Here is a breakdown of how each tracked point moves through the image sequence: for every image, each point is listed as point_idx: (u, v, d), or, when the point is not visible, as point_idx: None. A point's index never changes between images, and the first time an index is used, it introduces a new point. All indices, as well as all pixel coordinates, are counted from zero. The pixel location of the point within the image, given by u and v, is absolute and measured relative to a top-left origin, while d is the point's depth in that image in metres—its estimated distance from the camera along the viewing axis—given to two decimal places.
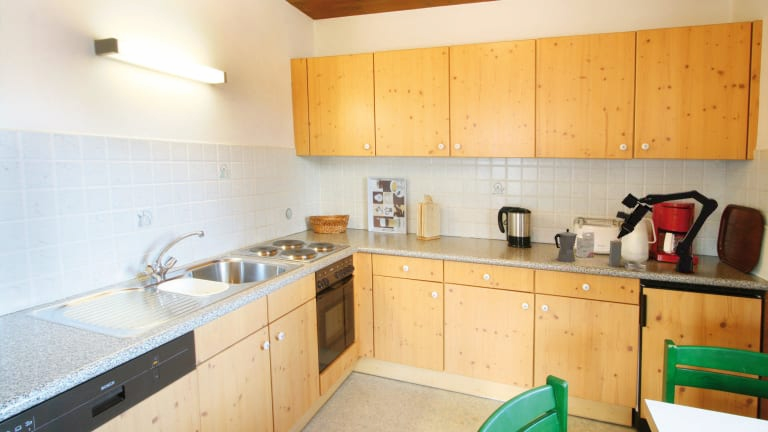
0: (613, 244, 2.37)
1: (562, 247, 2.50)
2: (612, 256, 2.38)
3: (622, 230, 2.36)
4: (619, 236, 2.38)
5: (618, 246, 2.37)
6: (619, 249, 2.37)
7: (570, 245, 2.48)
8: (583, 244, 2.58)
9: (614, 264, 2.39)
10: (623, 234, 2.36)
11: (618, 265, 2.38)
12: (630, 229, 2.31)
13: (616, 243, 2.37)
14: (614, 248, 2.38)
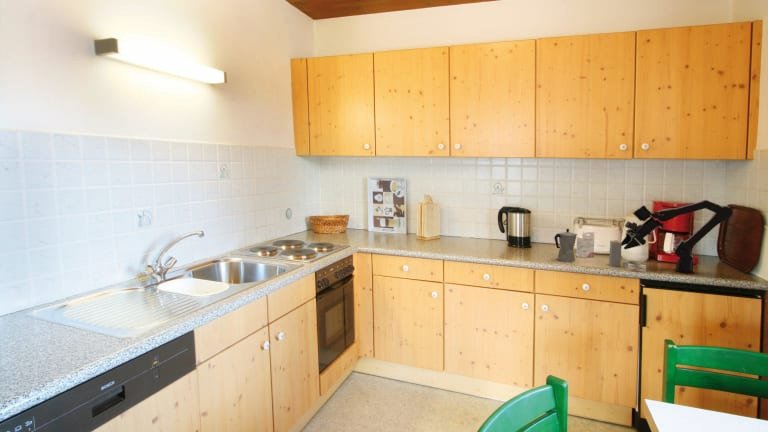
0: (613, 244, 2.37)
1: (562, 247, 2.50)
2: (612, 256, 2.38)
3: (632, 241, 2.32)
4: (627, 247, 2.33)
5: (618, 246, 2.37)
6: (619, 249, 2.37)
7: (570, 245, 2.48)
8: (583, 244, 2.58)
9: (614, 264, 2.39)
10: (631, 245, 2.32)
11: (618, 265, 2.38)
12: (642, 242, 2.27)
13: (616, 243, 2.37)
14: (614, 248, 2.38)
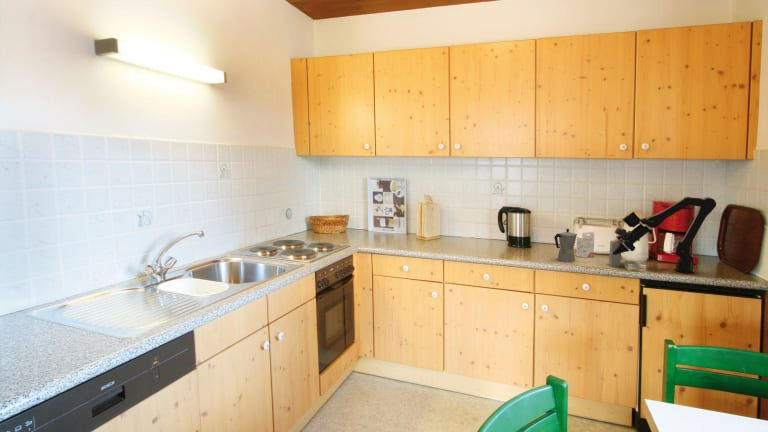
0: (613, 244, 2.37)
1: (562, 247, 2.50)
2: (612, 256, 2.38)
3: (620, 247, 2.35)
4: (615, 252, 2.37)
5: (618, 246, 2.37)
6: None
7: (570, 245, 2.48)
8: (583, 244, 2.58)
9: (614, 264, 2.39)
10: (620, 251, 2.36)
11: (618, 265, 2.38)
12: (631, 248, 2.29)
13: (616, 243, 2.37)
14: (614, 248, 2.38)
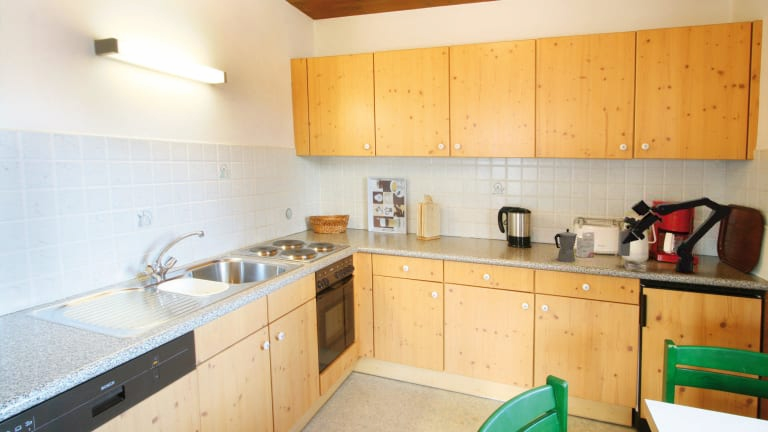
0: (622, 233, 2.33)
1: (562, 247, 2.50)
2: (621, 245, 2.34)
3: (630, 236, 2.31)
4: (625, 241, 2.33)
5: (627, 235, 2.33)
6: None
7: (570, 245, 2.48)
8: (583, 244, 2.58)
9: (623, 253, 2.35)
10: (630, 240, 2.32)
11: (628, 254, 2.34)
12: (641, 237, 2.25)
13: (625, 232, 2.33)
14: (623, 237, 2.34)
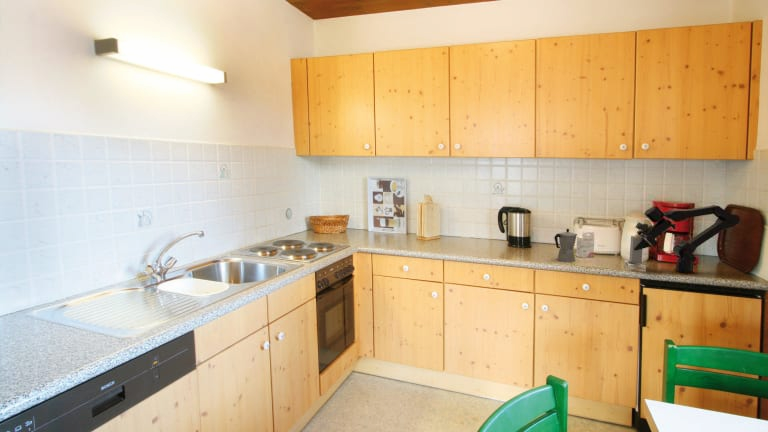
0: (634, 239, 2.29)
1: (562, 247, 2.50)
2: (633, 252, 2.30)
3: (642, 242, 2.27)
4: (637, 248, 2.28)
5: (639, 241, 2.28)
6: None
7: (570, 245, 2.48)
8: (583, 244, 2.58)
9: (635, 260, 2.30)
10: (642, 247, 2.27)
11: (639, 261, 2.30)
12: (654, 244, 2.21)
13: (637, 238, 2.28)
14: (635, 243, 2.29)
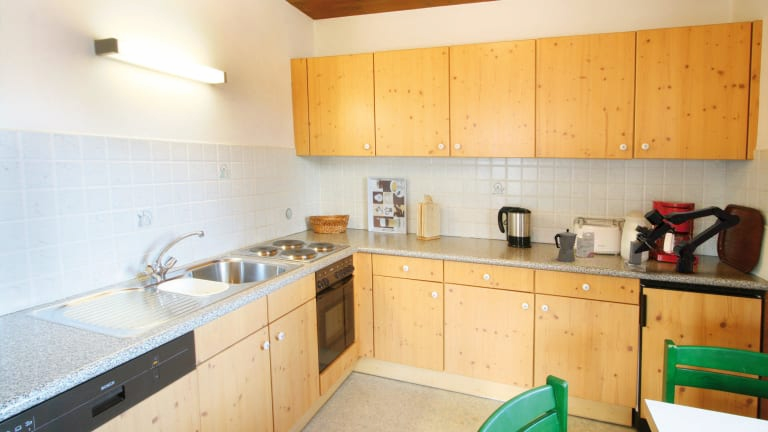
0: (634, 245, 2.29)
1: (562, 247, 2.50)
2: (633, 257, 2.30)
3: (642, 246, 2.26)
4: (637, 251, 2.27)
5: (639, 246, 2.29)
6: None
7: (570, 245, 2.48)
8: (583, 244, 2.58)
9: None
10: (642, 250, 2.26)
11: None
12: (654, 247, 2.21)
13: (637, 244, 2.29)
14: (635, 249, 2.29)
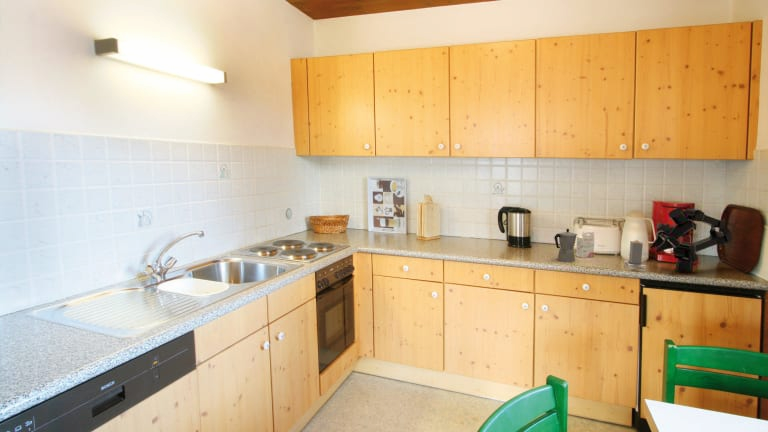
0: (634, 245, 2.29)
1: (562, 247, 2.50)
2: (633, 257, 2.30)
3: (664, 243, 2.22)
4: (659, 249, 2.24)
5: (639, 246, 2.29)
6: (640, 250, 2.29)
7: (570, 245, 2.48)
8: (583, 244, 2.58)
9: None
10: (664, 248, 2.23)
11: None
12: (676, 244, 2.18)
13: (637, 244, 2.29)
14: (635, 249, 2.29)
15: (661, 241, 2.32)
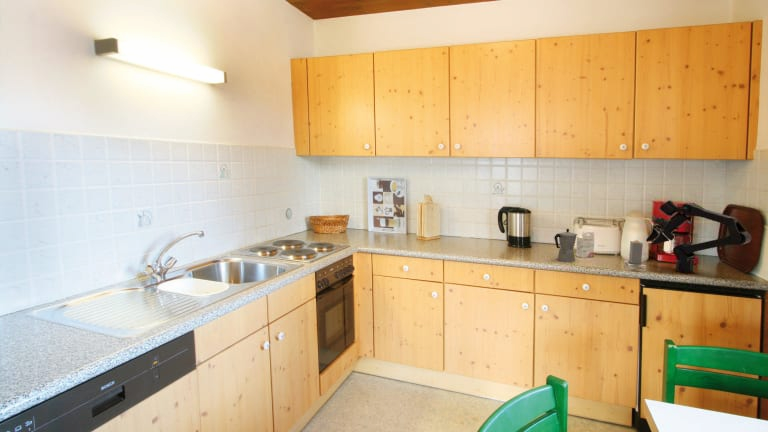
0: (634, 245, 2.29)
1: (562, 247, 2.50)
2: (633, 257, 2.30)
3: (659, 237, 2.26)
4: (654, 242, 2.28)
5: (639, 246, 2.29)
6: (640, 250, 2.29)
7: (570, 245, 2.48)
8: (583, 244, 2.58)
9: None
10: (659, 241, 2.27)
11: None
12: (671, 237, 2.22)
13: (637, 244, 2.29)
14: (635, 249, 2.29)
15: (656, 234, 2.36)
